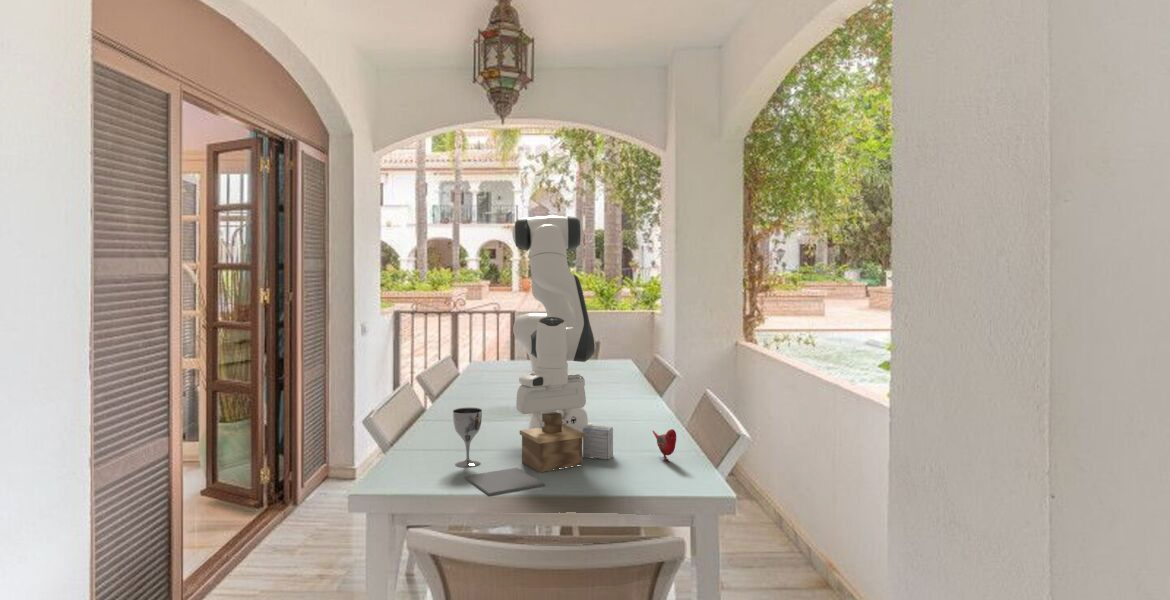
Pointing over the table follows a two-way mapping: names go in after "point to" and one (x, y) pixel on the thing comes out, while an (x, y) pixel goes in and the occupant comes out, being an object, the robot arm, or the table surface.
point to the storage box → (551, 454)
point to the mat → (503, 481)
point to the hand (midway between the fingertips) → (551, 426)
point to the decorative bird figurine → (666, 442)
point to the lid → (551, 430)
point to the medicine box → (598, 442)
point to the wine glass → (467, 430)
